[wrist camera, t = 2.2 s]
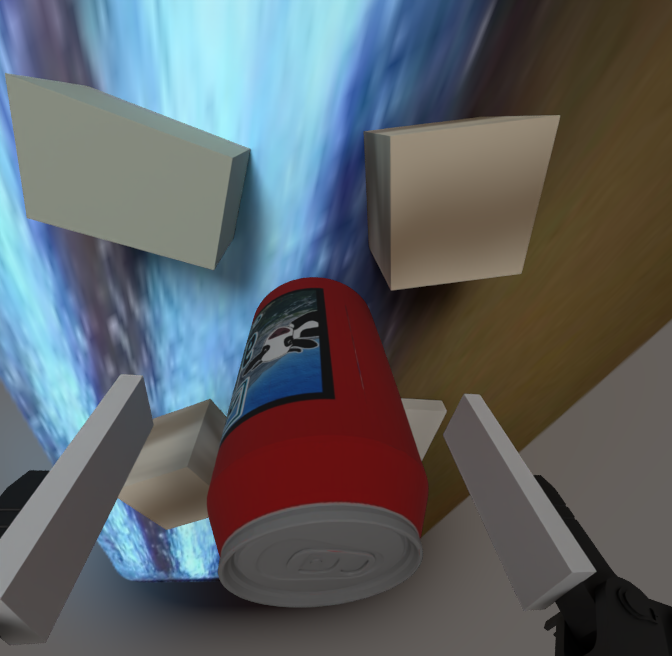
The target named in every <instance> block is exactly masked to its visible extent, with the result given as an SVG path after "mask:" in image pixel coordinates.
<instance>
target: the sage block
mask: <svg viewBox="0 0 672 656" xmlns="http://www.w3.org/2000/svg"><path fill="white" fill-rule="evenodd" d="M5 77H6V84H7V90H8V97H9V104H10V110H11V117H12V123H13V130H14V136H15V143H16V149H17V156H18V163H19V169H20V176H21V182H22V189H23V195H24V202H25V209H26V215H27V218H29V219H32V220H36V221H40V222H43V223H47V224H50V225H54V226H57V227H61V228H65V229H68V230H72V231H75V232H79V233H83V234H86V235H90V236H93V237H97V238H100V239H104V240H108V241H111V242H115V243H118V244H122V245H125V246H129V247H133V248H136V249H140V250H143V251H147V252H150V253H154V254H158V255H161V256H165V257H168V258H172V259H176V260H179V261H183V262H186V263H190V264H193V265H197V266H201V267H204V268H208V269H211V270H214V269H215V268H216V266H217V264H218V263H219V261H220V260H221V258H222V256H223V255H224V253H225V251H226V250H227V248H228V246H229V245H230V243H231V242H232V240H233V238H234V233H235V227H236V222H237V217H238V212H239V206H240V201H241V196H242V190H243V185H244V180H245V175H246V169H247V164H248V159H249V154H250V148H247V147H244V146H242V145H239V144H237V143H234V142H231V141H229V140H226V139H224V138H221V137H218V136H216V135H213V134H211V133H208V132H205V131H203V130H200V129H198V128H195V127H192V126H190V125H187V124H185V123H182V122H179V121H177V120H174V119H172V118H169V117H166V116H164V115H161V114H159V113H156V112H153V111H151V110H148V109H146V108H143V107H140V106H138V105H135V104H133V103H130V102H127V101H125V100H122V99H120V98H117V97H114V96H112V95H109V94H107V93H104V92H101V91H99V90H96V89H94V88H91V87H88V86H83V85H77V84H70V83H64V82H58V81H51V80H45V79H39V78H33V77H26V76H20V75H14V74H7V73H5Z"/></svg>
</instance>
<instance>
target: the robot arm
mask: <svg viewBox="0 0 672 656" xmlns="http://www.w3.org/2000/svg"><path fill="white" fill-rule="evenodd" d="M153 426H154V424H153V419H152V415H151V410H150V406H149V401H148V396H147V392H146V387H145V382H144V378H143V376H140V375H123V374H121V375H120V376H119V377H118V379H117V380H116V382H115V383H114V384H113V386H112V387H111V388H110V390H109V391H108V392H107V394H106V395H105V397H104V398H103V399H102V401H101V402H100V403H99V405H98V406H97V407H96V409H95V410H94V412H93V413H92V414H91V416H90V417H89V418H88V420H87V421H86V422H85V424H84V425H83V427H82V428H81V429H80V431H79V432H78V433H77V435H76V436H75V437H74V439H73V440H72V442H71V443H70V444H69V446H68V447H67V448H66V450H65V451H64V452H63V454H62V455H61V457H60V458H59V459H58V461H57V462H56V463H55V465H54V466H53V467H52V469H51V470H50V471H34V470H31V471H28V472H27V473H26V474H24V475H23V476H22V477H20V478H19V479H18V480H17V481H15V482H14V483H13V484H11V485H10V486H9V487H8V488H7V489H6V490H5V491H4V492H3V494H2V495H1V496H0V638H1V639H2V640H3V641H5V642H6V643H7V644H9V645H21V644H35V643H46V641H47V639H48V637H49V635H50V633H51V631H52V629H53V627H54V625H55V623H56V621H57V619H58V617H59V615H60V613H61V611H62V609H63V607H64V605H65V603H66V601H67V599H68V597H69V595H70V593H71V591H72V589H73V587H74V584H75V583H76V580H77V578H78V577H79V575H80V573H81V571H82V568H83V566H84V565H85V563H86V561H87V558H88V556H89V554H90V552H91V550H92V548H93V546H94V544H95V542H96V540H97V538H98V536H99V534H100V532H101V530H102V528H103V526H104V524H105V522H106V520H107V518H108V516H109V514H110V512H111V510H112V508H113V506H114V504H115V502H116V500H117V498H118V496H119V494H120V492H121V490H122V488H123V486H124V484H125V482H126V480H127V478H128V476H129V474H130V472H131V470H132V468H133V466H134V464H135V462H136V460H137V458H138V456H139V454H140V452H141V450H142V448H143V446H144V444H145V442H146V440H147V438H148V436H149V434H150V432H151V430H152V428H153ZM443 436H444V438H445V440H446V443H447V445H448V447H449V449H450V451H451V454H452V456H453V458H454V460H455V462H456V464H457V467H458V469H459V471H460V473H461V475H462V478H463V480H464V482H465V484H466V486H467V489H468V491H469V493H470V495H471V497H472V499H473V502H474V504H475V506H476V508H477V511H478V513H479V515H480V517H481V519H482V521H483V524H484V526H485V528H486V530H487V532H488V535H489V537H490V539H491V541H492V543H493V546H494V548H495V550H496V552H497V554H498V556H499V559H500V561H501V563H502V565H503V567H504V570H505V572H506V574H507V576H508V578H509V581H510V583H511V585H512V587H513V589H514V592H515V594H516V596H517V598H518V600H519V603H520V605H521V607H522V609H523V611H527V610H542V609H546V608H547V607H548V606H550V605H551V604H553V603H554V602H556V604H557V606H558V608H559V610H560V612H559V613H558V614H556V615H555V616H553V617H552V618H550V619H549V620H547V621H546V623H545V626H544V628H545V629H546V630H547V631H548V630H550V629H551V628H553V627H554V626H556V632H555V633H554V636H555V637H556V644H555V645H556V646H555V656H672V607H671V606H668V605H665V604H662V603H660V602H657V601H654V600H651V599H648V598H647V596H646V595H645V594H644V593H643V592H642V591H641V590H640V589H638V588H637V587H636V586H634V585H633V584H632V583H631V582H629V581H627V580H625V579H623V578H620V577H618V576H617V575H616V574H615V573H614V572H613V571H612V569H611V568H610V567H609V565H608V564H607V563H606V561H605V560H604V558H603V557H602V555H601V554H600V552H599V551H598V550H597V548H596V547H595V545H594V544H593V542H592V541H591V540H590V538H589V537H588V535H587V534H586V532H585V531H584V530H583V528H582V527H581V525H580V524H579V522H578V521H577V520H575V518H574V515H573V514H572V512H571V511H570V509H569V508H568V507H566V504H565V502H564V501H563V499H562V498H561V497H560V495H559V494H558V492H557V491H556V490H555V488H554V487H553V486H552V485H551V484H550V483H548V482H547V481H546V480H545V479H544V478H543V477H542V476H541V475H532V473H531V471H530V470H529V469H528V467H527V465H526V464H525V462H524V461H523V459H522V458H521V456H520V455H519V453H518V452H517V450H516V449H515V447H514V446H513V444H512V443H511V441H510V440H509V438H508V437H507V435H506V434H505V432H504V431H503V429H502V428H501V426H500V425H499V423H498V422H497V420H496V419H495V417H494V416H493V414H492V413H491V411H490V409H489V408H488V406H487V405H486V403H485V402H484V400H483V399H482V397H481V396H480V395H478V394H464V395H463V397H462V398H461V400H460V402H459V404H458V406H457V408H456V410H455V412H454V414H453V416H452V418H451V420H450V422H449V424H448V426H447V428H446V430H445V432H444V434H443Z"/></svg>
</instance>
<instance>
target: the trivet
mask: <svg viewBox="0 0 672 656" xmlns="http://www.w3.org/2000/svg"><path fill="white" fill-rule="evenodd" d="M401 400H402V403H403V406H404V409H405V412H406V415H407V418H408V421H409V425H410V428H411V431H412V434H413V437H414V440H415V443H416V446H417V449H418V452H419V455H420V458H421V461H422V460H423V458H424V456H425V454H426V452H427V450H428V448H429V446H430V444H431V442H432V440H433V438H434V436H435V434H436V432H437V430H438V428H439V426H440V424H441V422H442V420H443V418H444V416H445V414H446V412H447V410H446V408H445V406H444V404H443V402H442V401H439V400H422V399H404V398H401Z"/></svg>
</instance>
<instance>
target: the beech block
mask: <svg viewBox="0 0 672 656" xmlns="http://www.w3.org/2000/svg"><path fill="white" fill-rule="evenodd" d="M559 119H560V115H548V116H503V117H477V118H469V119H461V120H453V121H445V122H436V123H428V124H420V125H412V126H404V127H396V128H388V129H380V130H371V131H364V147H365V170H366V193H367V216H368V239H369V248H370V250H371V252H372V254H373V256H374V258H375V260H376V262H377V264H378V266H379V268H380V270H381V272H382V274H383V276H384V278H385V280H386V282H387V284H388V286H389V288H390V290H399V289H407V288H414V287H422V286H430V285H438V284H445V283H453V282H461V281H468V280H476V279H484V278H492V277H499V276H507V275H515V274H521V273H522V269H523V265H524V261H525V257H526V253H527V249H528V245H529V240H530V236H531V232H532V228H533V224H534V220H535V216H536V212H537V208H538V204H539V200H540V196H541V192H542V188H543V184H544V180H545V176H546V172H547V168H548V164H549V160H550V156H551V152H552V147H553V143H554V139H555V135H556V131H557V127H558V123H559Z"/></svg>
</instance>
